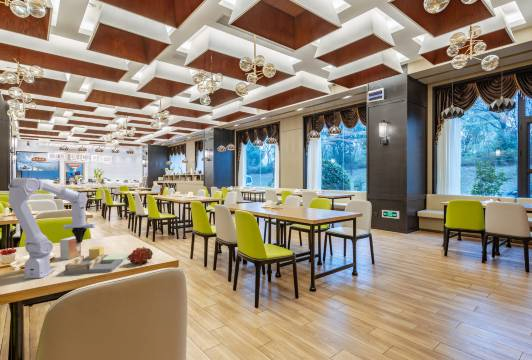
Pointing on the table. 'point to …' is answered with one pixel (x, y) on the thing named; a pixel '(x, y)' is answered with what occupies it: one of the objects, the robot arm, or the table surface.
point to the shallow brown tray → (76, 266)
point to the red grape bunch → (140, 255)
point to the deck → (102, 264)
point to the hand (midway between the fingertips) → (79, 242)
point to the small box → (69, 248)
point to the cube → (96, 252)
